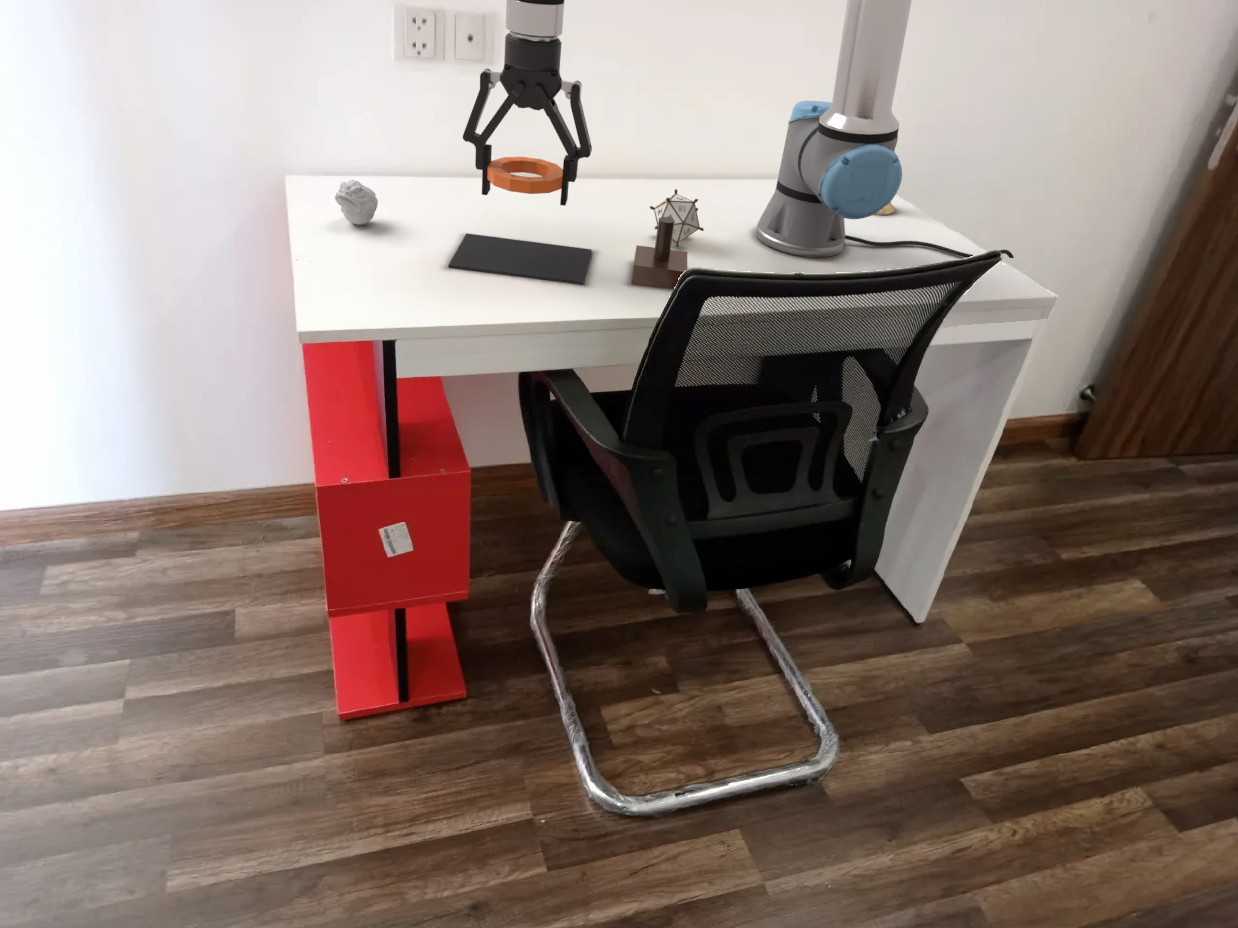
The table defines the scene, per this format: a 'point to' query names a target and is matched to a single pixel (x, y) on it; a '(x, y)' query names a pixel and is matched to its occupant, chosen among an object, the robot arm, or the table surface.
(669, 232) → the post
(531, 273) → the mat
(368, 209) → the frog figurine
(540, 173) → the ring
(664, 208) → the game die
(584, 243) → the table surface
